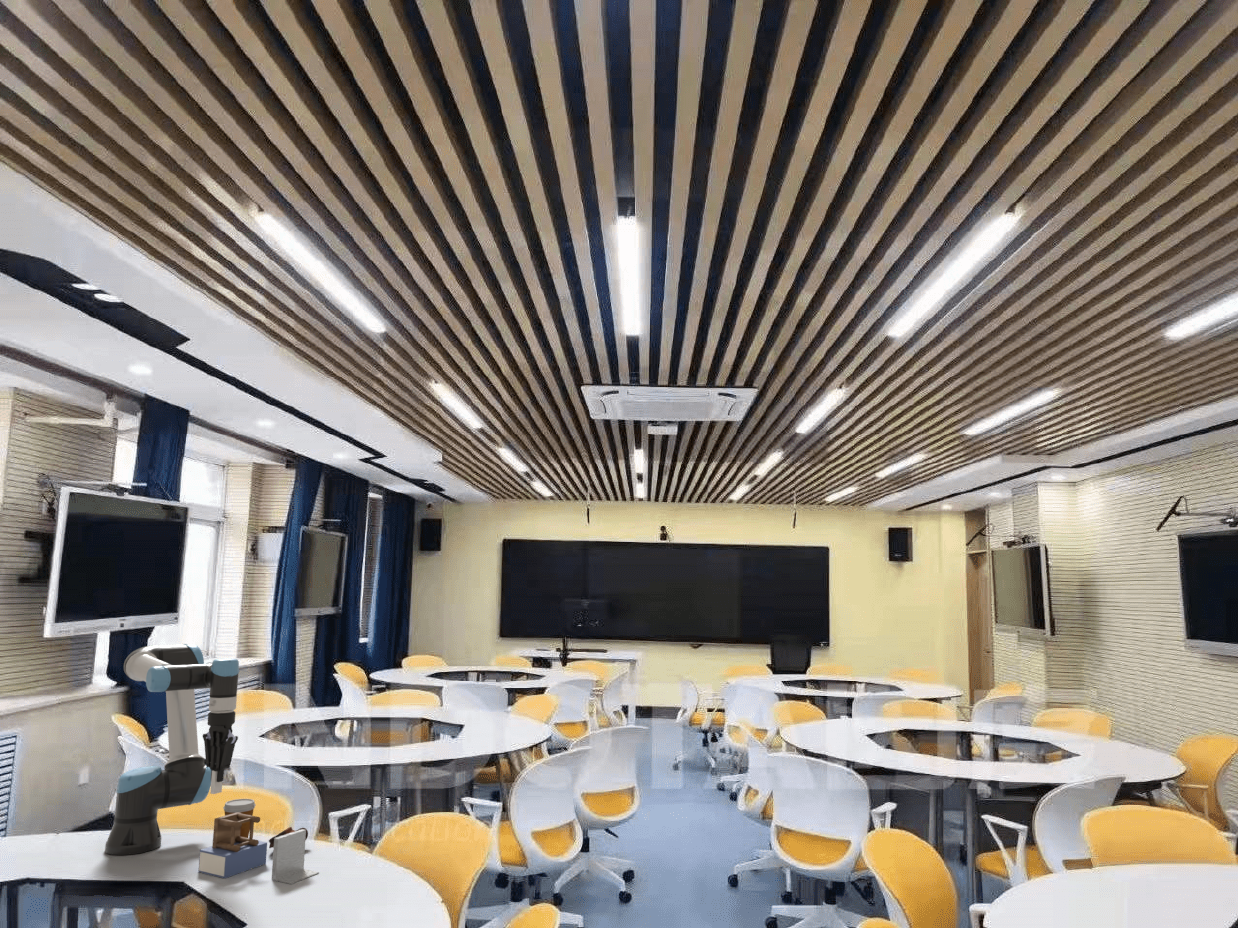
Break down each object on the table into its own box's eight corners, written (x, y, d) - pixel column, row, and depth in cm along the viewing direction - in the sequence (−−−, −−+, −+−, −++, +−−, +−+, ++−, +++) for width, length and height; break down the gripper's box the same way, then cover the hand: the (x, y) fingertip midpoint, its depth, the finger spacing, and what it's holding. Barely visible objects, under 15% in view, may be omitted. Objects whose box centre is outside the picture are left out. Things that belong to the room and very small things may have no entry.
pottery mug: (288, 860, 251) (275, 835, 252) (271, 869, 256) (259, 844, 257) (319, 840, 262) (307, 816, 263) (302, 849, 266) (291, 825, 267)
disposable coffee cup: (258, 837, 272) (261, 798, 274) (243, 846, 263) (245, 806, 265) (231, 836, 273) (233, 797, 275) (214, 845, 264) (217, 805, 266)
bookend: (271, 879, 234) (274, 837, 235) (299, 869, 242) (302, 829, 244) (290, 884, 230) (293, 841, 232) (318, 873, 239) (321, 832, 241)
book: (198, 871, 239) (199, 849, 240) (240, 858, 252) (241, 836, 252) (224, 878, 234) (225, 855, 235) (265, 863, 247) (267, 842, 248)
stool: (212, 847, 242) (214, 818, 243) (235, 840, 249) (238, 811, 250) (235, 852, 238) (237, 822, 239) (258, 844, 245) (260, 816, 246)
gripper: (196, 711, 253) (190, 792, 250) (226, 714, 247) (219, 797, 244) (218, 707, 260) (212, 787, 256) (247, 711, 254) (241, 792, 250)
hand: (215, 792), depth 250 cm, fingers closed
